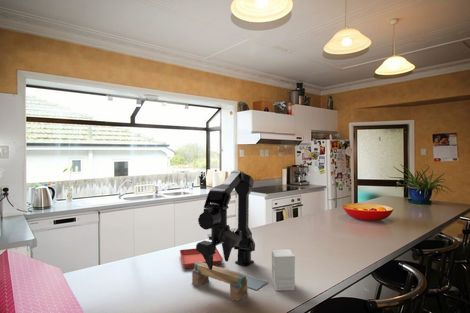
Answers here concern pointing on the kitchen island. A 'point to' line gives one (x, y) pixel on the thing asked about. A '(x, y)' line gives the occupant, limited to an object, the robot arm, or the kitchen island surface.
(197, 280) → the post
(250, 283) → the mat
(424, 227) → the kitchen island surface
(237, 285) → the post
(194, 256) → the plant saucer
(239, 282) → the rail
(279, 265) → the supplement box
